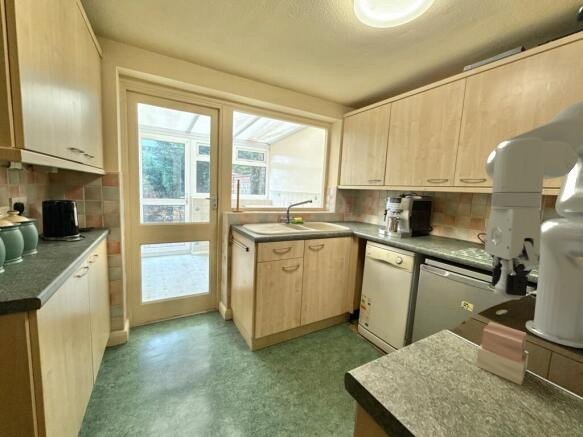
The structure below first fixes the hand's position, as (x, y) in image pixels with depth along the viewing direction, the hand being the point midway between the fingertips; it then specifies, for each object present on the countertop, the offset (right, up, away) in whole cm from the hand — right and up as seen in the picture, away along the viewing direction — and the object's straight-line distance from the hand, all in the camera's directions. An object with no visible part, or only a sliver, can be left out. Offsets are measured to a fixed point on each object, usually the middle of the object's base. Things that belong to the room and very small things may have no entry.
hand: (507, 289), depth 51 cm
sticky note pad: (-1, -17, +1) cm, 17 cm away
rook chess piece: (0, -2, 0) cm, 2 cm away
